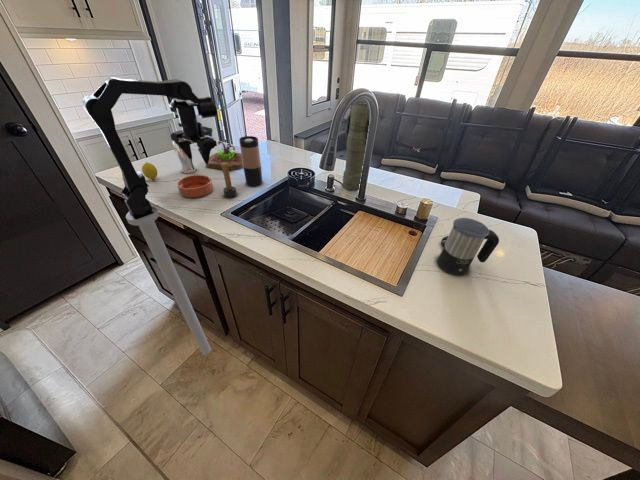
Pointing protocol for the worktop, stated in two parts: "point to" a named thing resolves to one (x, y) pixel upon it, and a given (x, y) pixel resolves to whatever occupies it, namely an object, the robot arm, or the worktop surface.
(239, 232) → the worktop surface
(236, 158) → the plant
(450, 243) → the milk frother
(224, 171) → the dish brush
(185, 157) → the beer glass
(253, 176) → the travel mug
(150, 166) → the lemon
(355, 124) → the green banded column
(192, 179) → the bowl
